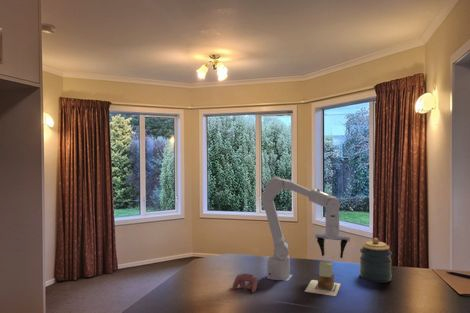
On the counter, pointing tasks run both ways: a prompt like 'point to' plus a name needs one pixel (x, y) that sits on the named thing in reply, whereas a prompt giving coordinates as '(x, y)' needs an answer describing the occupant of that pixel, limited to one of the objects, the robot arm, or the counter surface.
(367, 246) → the canister
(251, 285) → the video game controller
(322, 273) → the sage block
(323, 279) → the walnut block
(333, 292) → the cream square tray
